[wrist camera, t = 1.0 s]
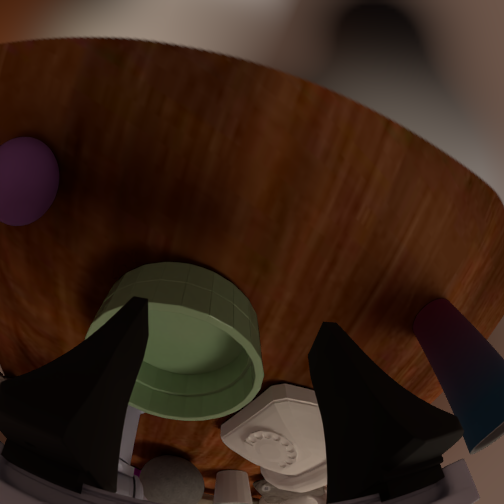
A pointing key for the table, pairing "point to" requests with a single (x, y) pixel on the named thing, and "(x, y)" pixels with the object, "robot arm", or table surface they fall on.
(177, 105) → the table surface
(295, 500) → the teapot
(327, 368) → the robot arm
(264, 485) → the grey rock
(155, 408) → the sage bowl
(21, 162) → the purple ball
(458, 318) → the cup
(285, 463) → the telephone
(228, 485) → the shot glass
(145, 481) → the decorative ball
